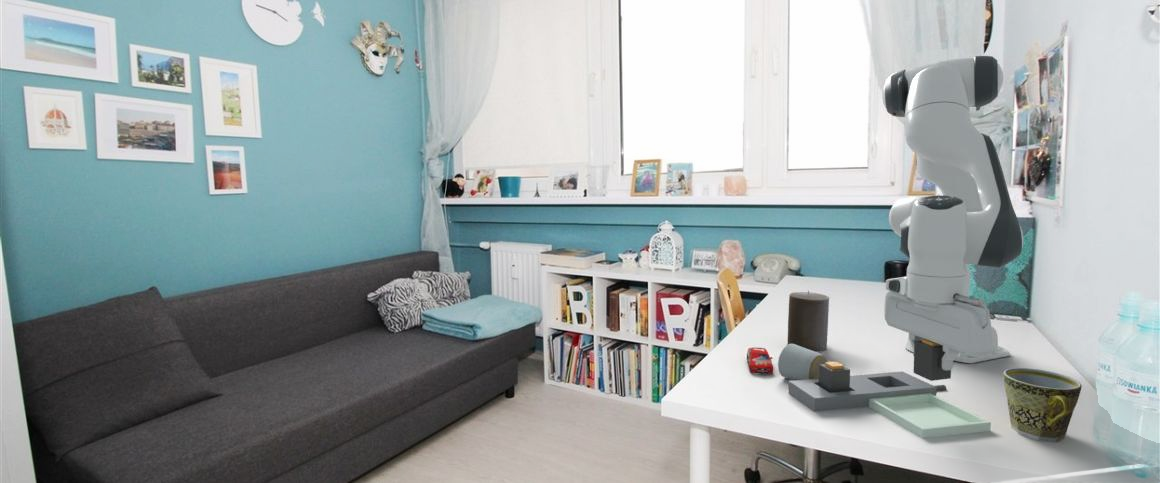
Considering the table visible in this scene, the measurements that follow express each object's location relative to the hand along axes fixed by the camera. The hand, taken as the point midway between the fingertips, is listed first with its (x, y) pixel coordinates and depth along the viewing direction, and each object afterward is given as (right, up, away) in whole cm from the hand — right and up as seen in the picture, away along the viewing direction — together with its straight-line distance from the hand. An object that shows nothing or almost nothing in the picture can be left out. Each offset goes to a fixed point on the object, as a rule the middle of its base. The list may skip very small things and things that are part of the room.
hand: (932, 363), depth 98 cm
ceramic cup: (+14, -11, -7) cm, 19 cm away
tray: (-1, -10, +1) cm, 10 cm away
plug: (0, -2, 0) cm, 2 cm away
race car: (-21, -8, +31) cm, 38 cm away
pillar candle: (-4, -6, +45) cm, 45 cm away
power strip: (-4, -9, +11) cm, 15 cm away
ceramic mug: (-14, -9, +21) cm, 27 cm away
